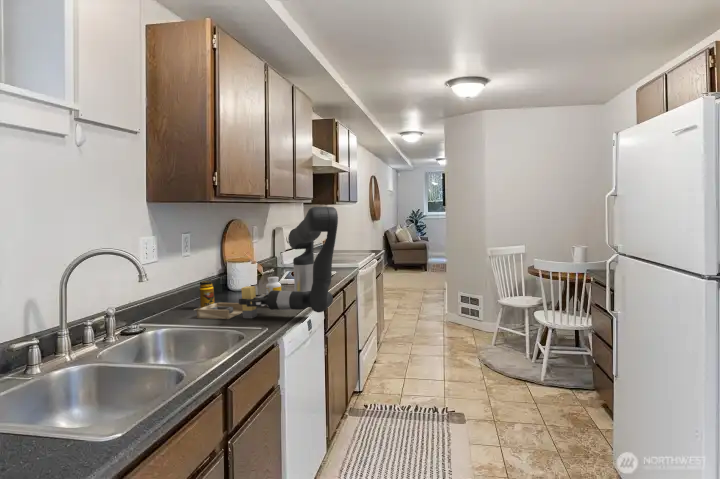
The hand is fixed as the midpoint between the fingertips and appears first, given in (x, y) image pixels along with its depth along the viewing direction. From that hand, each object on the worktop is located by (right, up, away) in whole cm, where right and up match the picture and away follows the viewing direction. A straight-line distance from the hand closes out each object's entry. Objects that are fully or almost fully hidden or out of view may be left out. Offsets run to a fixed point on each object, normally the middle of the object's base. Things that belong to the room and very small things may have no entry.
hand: (244, 299), depth 193 cm
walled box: (-11, -7, +6) cm, 14 cm away
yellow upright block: (+2, -7, 0) cm, 7 cm away
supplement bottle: (+9, -6, +19) cm, 21 cm away
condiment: (-22, -7, +21) cm, 31 cm away
